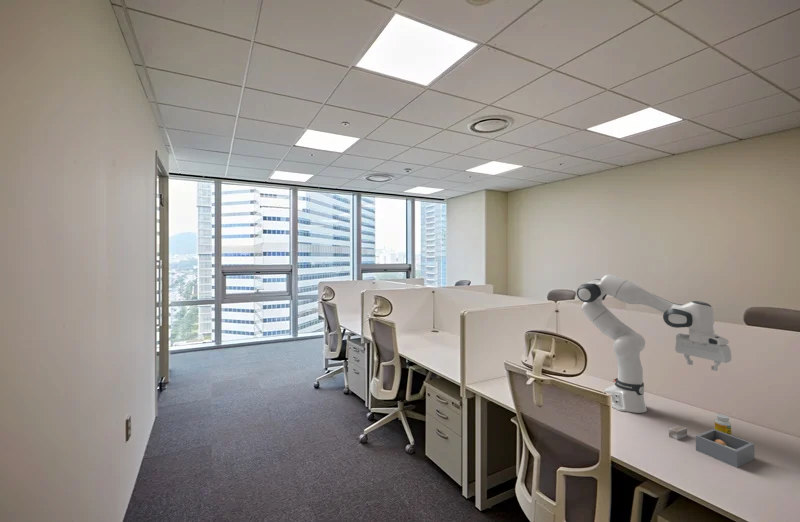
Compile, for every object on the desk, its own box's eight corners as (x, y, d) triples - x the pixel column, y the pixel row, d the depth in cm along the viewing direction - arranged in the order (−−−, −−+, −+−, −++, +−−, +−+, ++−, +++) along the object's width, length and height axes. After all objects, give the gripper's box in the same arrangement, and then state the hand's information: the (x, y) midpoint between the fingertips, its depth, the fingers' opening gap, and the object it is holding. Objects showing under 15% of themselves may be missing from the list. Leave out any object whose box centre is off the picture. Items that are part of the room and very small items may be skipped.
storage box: (695, 452, 141) (695, 435, 141) (713, 445, 146) (713, 428, 146) (737, 470, 129) (736, 451, 129) (754, 461, 134) (754, 443, 134)
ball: (711, 448, 142) (711, 438, 142) (716, 446, 144) (716, 436, 143) (723, 453, 138) (723, 443, 138) (728, 451, 140) (728, 441, 140)
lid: (651, 436, 156) (651, 425, 156) (669, 429, 161) (669, 418, 161) (687, 451, 143) (687, 439, 143) (706, 443, 149) (706, 432, 149)
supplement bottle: (716, 433, 156) (716, 412, 156) (733, 438, 151) (732, 416, 151) (713, 437, 153) (712, 415, 153) (729, 442, 148) (729, 420, 148)
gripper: (671, 333, 166) (672, 361, 166) (724, 342, 147) (725, 374, 147) (680, 332, 169) (680, 360, 169) (733, 341, 150) (733, 372, 150)
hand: (701, 367), depth 158 cm, fingers open, 8 cm apart
